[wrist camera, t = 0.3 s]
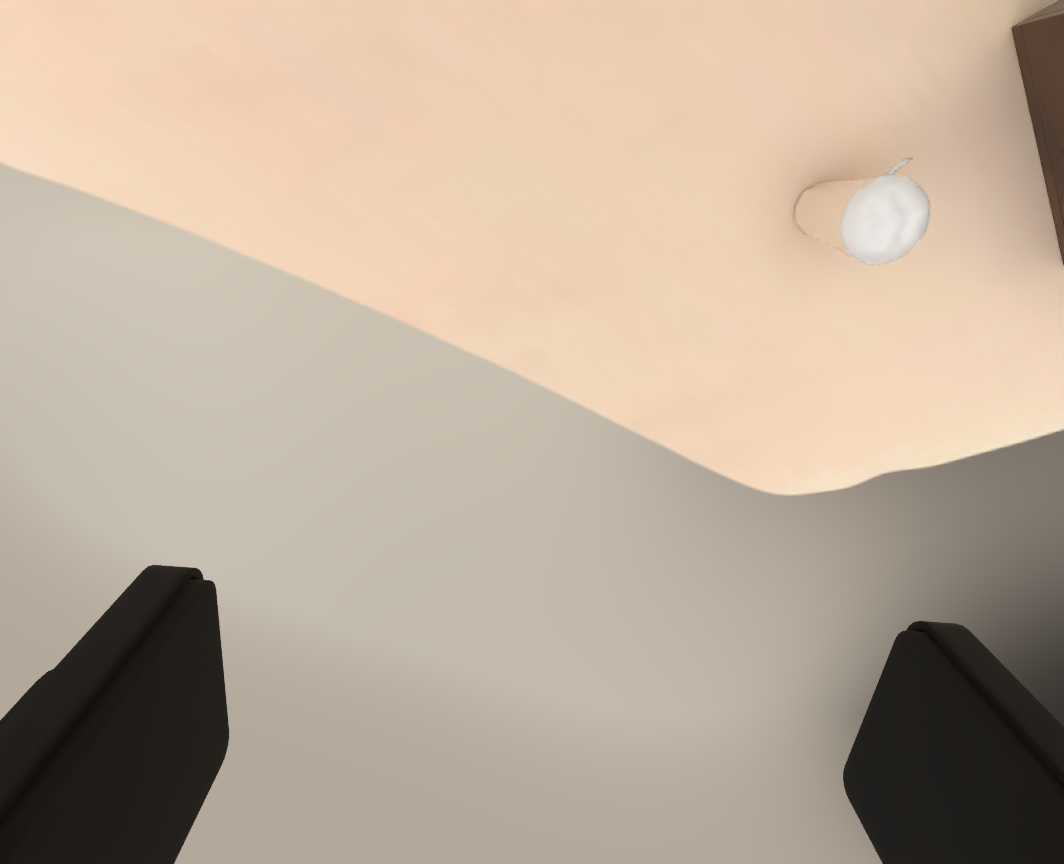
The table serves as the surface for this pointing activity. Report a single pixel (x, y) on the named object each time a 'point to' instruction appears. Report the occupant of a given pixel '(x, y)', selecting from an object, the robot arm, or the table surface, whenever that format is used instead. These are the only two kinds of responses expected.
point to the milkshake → (866, 215)
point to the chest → (1046, 97)
